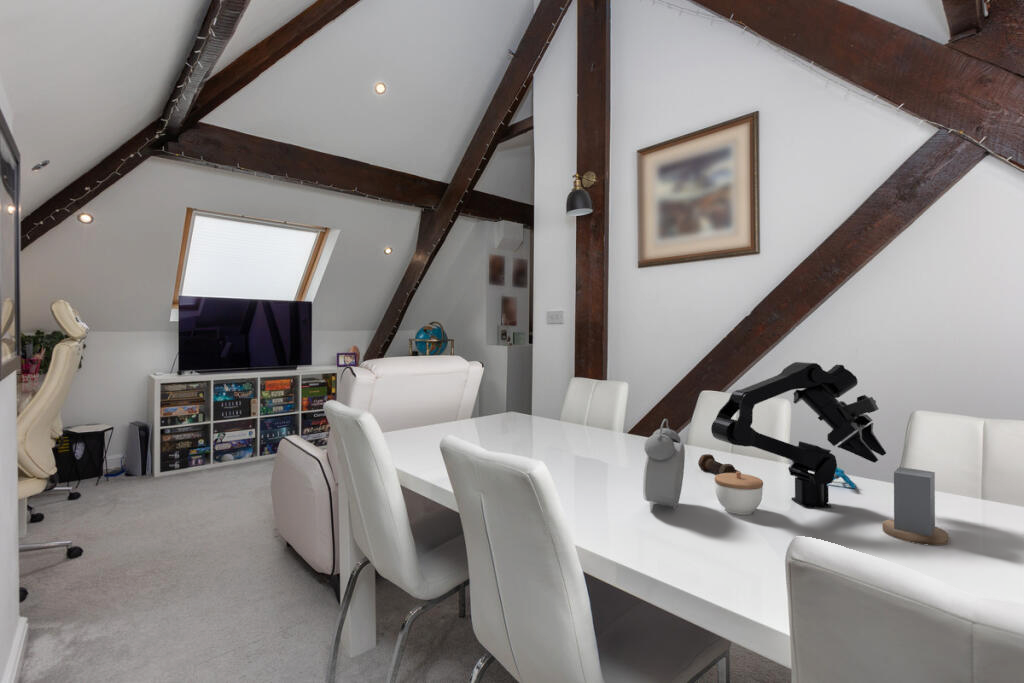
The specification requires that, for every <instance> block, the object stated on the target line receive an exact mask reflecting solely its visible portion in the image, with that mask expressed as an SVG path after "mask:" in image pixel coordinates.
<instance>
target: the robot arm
mask: <svg viewBox="0 0 1024 683" xmlns="http://www.w3.org/2000/svg"><path fill="white" fill-rule="evenodd" d="M858 382H859V381H858V378H857V376H856V375H854V373H853V372H852V371H850V370H849V369H847V368H845V366H844V365H843V364H835V365H834V366H831V369H829V370H827V371H826V370H824V369H823V368H822V366H821V365H820V364H818V363H817V362H803V361H802V362H801V361H796V362H793V363H791V364H789V365H788V366H785V367H784V368H783V370H782V371H781V372H780V373H778V374H777V375H775V376H771V377H769V378H767V379H765V380H762V381H759V382H757V383H754V384H751V385H749V386H746V387H745V388H741V389H737V390H733V392H732V393H731V394H730V395H729V396H730V397H729V398H728V401H727V402H726V403H725V404H724V405H723V406H722V407H721V408H720V410H718V413H717V415H716V418H715V419H714V420H713V421H712V424H711V430H710V431H711V434H712V437H713V438H715V440H718V441H721V442H725V443H728V444H731V445H734V446H740V447H753V448H756V449H758V450H761V451H764V452H767V453H771V454H773V455H776V456H779V457H782V458H783V459H788V460H789V461H791V462H792V463H791V464H790V465H789V466H788V471H789V475H790V476H792V477H794V497H793V496H792V497H791V500H792V501H793V502H795V503H796V504H798V505H800V506H802V507H804V508H811V509H812V508H832V505H831V504H830V503H829V502H830V500H829V486H828V485H827V483H829V484H832V483H833V481H834V480H833V478H834V475H835V471H836V468H837V467H838V462H837V458H836V455H835V454H833V453H831V451H832V450H831V449H828V448H824V447H821V446H819V445H815V444H811V443H807V442H804V441H800V440H799V441H798V445H794V444H791V443H788V442H785V441H783V440H780V439H776V438H774V437H771V436H769V435H766V434H763V433H759V432H758V431H756V430H755V429H754V428H753V427H751V426H752V424H753V414H754V413H753V411H754V408H755V405H757V404H759V403H763V402H765V401H767V400H771V399H772V398H775V397H777V396H780V395H782V394H785V393H787V392H790V391H793V390H794V392H793V404H798V403H799V402H800V401H803V402H804V403H805V404H806V405H807V406H808V407H809V408H810V409H811V410H812V411H813V412H814V413H815V414H816V415H818V417H817V419H818V420H819V421H824V423H826V424H827V426H829V427H830V428H831V429H832V430H831V431H830V432H829V433H827V442H829V443H830V445H832V446H833V447H835V446H836V447H837V448H838V449H842V450H844V451H847V452H850V453H852V454H854V455H855V456H858V457H860V458H863V459H865V460H867V461H870V462H872V463H877V462H878V461H879V459H878V457H877V456H876V455H875V453H876V454H878V455H881V456H885V455H886V454H887V452H886V450H885V449H884V447H883V446H882V444H881V443H880V441H879V439H878V438H877V437H876V435H875V434H874V422H873V419H872V418H871V416H869V415H868V414H870V413H873V412H876V411H878V410H879V407H878V405H877V401H876V400H875V399H874V398H873V397H872V396H870V397H869V396H867V395H866V394H863V395H860V396H858V397H856V401H854V402H852V403H848V404H847V403H846V401H844V400H843V401H842V400H840V401H839V400H838V399H837V398H840V397H841V396H844V394H846V393H847V392H849V391H851V390H852V389H854V388H855V387H856V386H858ZM737 412H738V417H737V419H732V418H733V416H734V415H735V414H736V413H737ZM867 413H868V414H867ZM840 442H841V443H840ZM839 443H840V444H839ZM809 471H810V472H809ZM812 472H813V473H812Z"/></svg>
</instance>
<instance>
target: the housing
mask: <svg viewBox="0 0 1024 683" xmlns="http://www.w3.org/2000/svg"><path fill="white" fill-rule="evenodd" d="M935 474H936V472H935V471H930V470H929V471H928V470H924V469H923V470H922V469H916V468H915V469H914V468H910V467H900V466H899V467H897V468H896V469H895V471H894V472H893V519H894V529H897V530H902V531H906V532H911V533H916V534H920V535H925V536H929V537H931V535H932V533H933V531H934V530H935V527H936V500H935V499H936V496H935V495H936V491H935V490H936V488H935V487H936V482H935V480H936V476H935Z"/></svg>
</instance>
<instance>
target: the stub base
mask: <svg viewBox="0 0 1024 683" xmlns="http://www.w3.org/2000/svg"><path fill="white" fill-rule="evenodd" d="M881 525H882V529H883V530H882V529H881V530H882V531H883V532H884V534H886V535H888V536H890V537H892V536H893V538H895V539H897V538H898V540H900V539H901V541H905V542H908V541H909V542H908V543H912V542H914V543H913V544H917V543H919V545H924V544H928V545H927V546H944V545H947V544H949V543H948V542H950V534H949V533H948V532H947V531H946V530H944V529H942V528H940V527H938V526H935V530H934V531H933V533H932V535H931V537H929V536H925V535H920V534H916V533H911V532H906V531H902V530H897V529H894V518H893V519H887V520H884V521H882V522H881Z"/></svg>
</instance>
